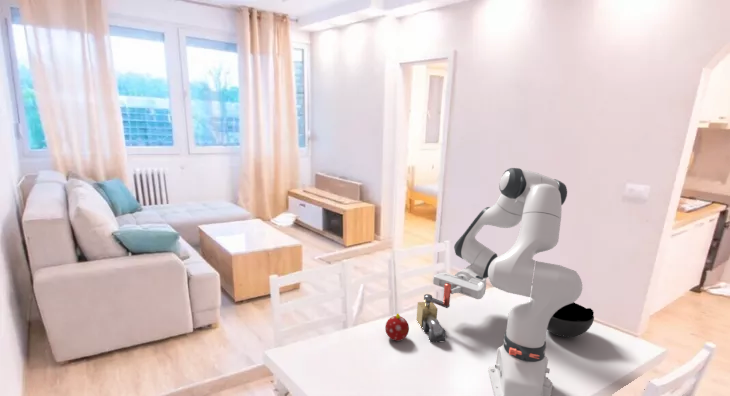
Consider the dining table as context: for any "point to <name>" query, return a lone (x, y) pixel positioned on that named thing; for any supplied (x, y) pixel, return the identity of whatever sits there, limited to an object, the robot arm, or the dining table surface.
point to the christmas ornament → (397, 328)
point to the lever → (446, 297)
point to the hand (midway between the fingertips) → (448, 291)
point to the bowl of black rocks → (571, 320)
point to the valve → (430, 321)
